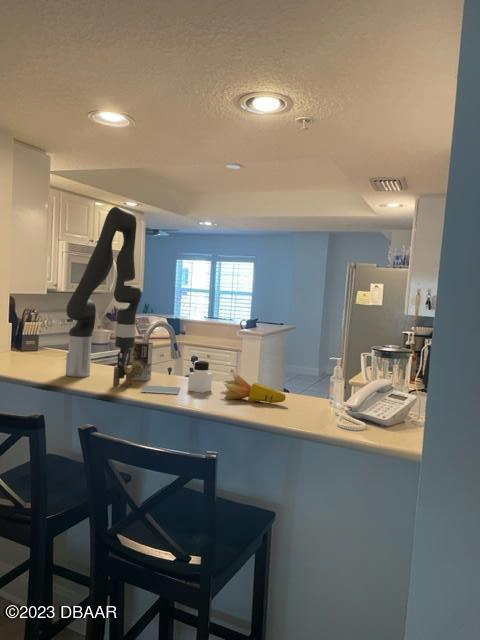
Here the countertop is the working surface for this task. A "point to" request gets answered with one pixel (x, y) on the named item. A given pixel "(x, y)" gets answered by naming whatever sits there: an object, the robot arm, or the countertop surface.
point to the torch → (251, 391)
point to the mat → (160, 389)
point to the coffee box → (141, 361)
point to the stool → (128, 376)
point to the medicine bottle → (200, 378)
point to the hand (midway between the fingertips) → (123, 376)
